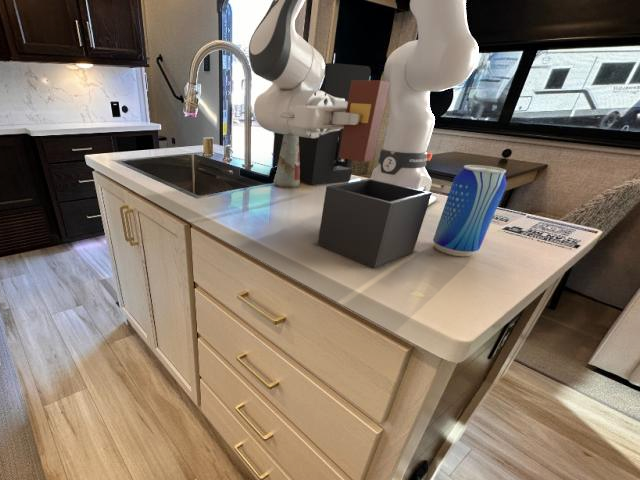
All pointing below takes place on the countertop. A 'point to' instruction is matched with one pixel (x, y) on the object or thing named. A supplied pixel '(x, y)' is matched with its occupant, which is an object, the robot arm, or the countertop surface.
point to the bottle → (288, 163)
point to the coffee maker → (323, 151)
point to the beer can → (469, 209)
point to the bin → (372, 220)
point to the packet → (364, 119)
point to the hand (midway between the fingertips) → (367, 119)
